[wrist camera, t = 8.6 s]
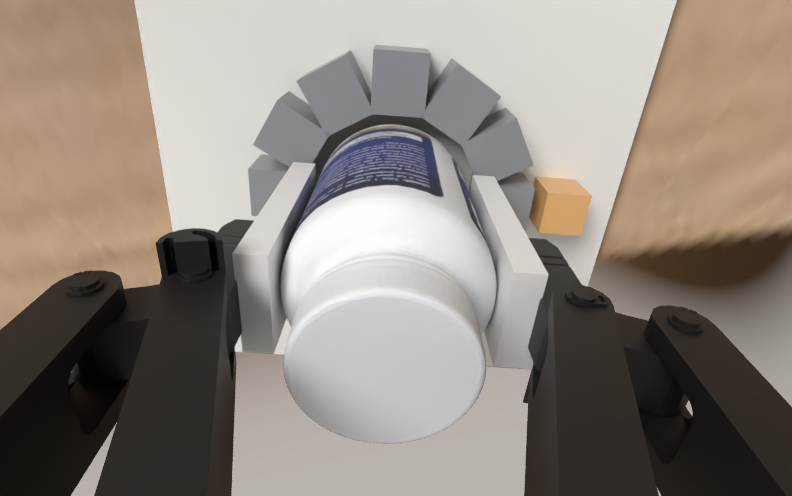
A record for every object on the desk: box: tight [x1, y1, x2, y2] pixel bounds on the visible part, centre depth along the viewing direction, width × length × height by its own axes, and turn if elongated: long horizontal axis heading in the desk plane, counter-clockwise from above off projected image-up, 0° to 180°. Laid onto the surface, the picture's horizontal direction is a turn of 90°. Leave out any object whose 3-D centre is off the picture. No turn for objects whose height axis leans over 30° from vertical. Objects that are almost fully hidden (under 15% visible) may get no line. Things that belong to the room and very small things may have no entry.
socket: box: [135, 0, 677, 369], centre depth 18 cm, size 18×18×2 cm
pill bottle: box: [280, 124, 497, 444], centre depth 13 cm, size 5×5×10 cm
